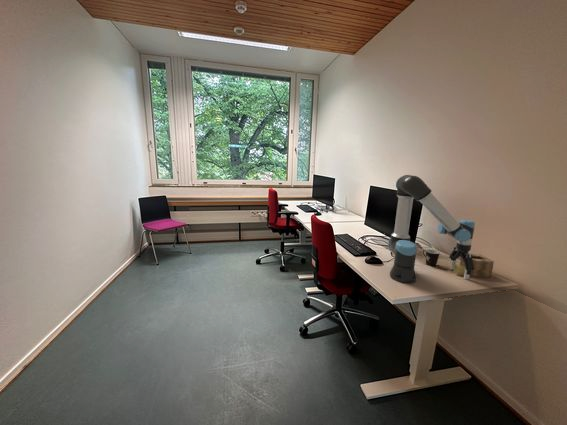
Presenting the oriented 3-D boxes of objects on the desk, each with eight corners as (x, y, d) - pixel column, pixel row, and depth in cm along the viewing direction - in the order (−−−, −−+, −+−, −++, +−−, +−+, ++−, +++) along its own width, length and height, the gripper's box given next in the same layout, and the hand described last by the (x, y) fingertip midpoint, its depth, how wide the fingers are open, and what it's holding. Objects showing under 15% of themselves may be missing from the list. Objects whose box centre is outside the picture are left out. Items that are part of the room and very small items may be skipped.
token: (456, 275, 154) (457, 266, 152) (453, 273, 157) (454, 264, 155) (464, 275, 153) (465, 266, 152) (461, 273, 156) (462, 265, 155)
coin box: (471, 276, 152) (474, 260, 150) (459, 268, 163) (461, 253, 161) (490, 277, 151) (493, 261, 149) (476, 269, 163) (479, 254, 161)
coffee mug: (440, 267, 165) (442, 254, 163) (426, 266, 166) (428, 253, 164) (433, 261, 176) (434, 248, 174) (420, 260, 178) (422, 247, 176)
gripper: (485, 250, 138) (479, 283, 142) (457, 237, 163) (452, 266, 167) (472, 250, 139) (466, 282, 143) (446, 237, 163) (441, 265, 167)
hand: (459, 273), depth 155 cm, fingers open, 13 cm apart
